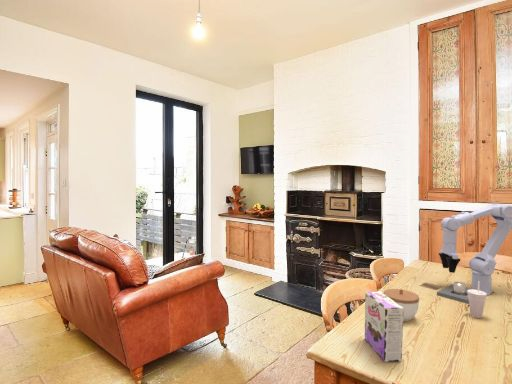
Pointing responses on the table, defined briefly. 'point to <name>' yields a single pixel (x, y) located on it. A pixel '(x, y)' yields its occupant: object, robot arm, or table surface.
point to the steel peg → (459, 288)
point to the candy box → (384, 326)
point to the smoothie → (476, 301)
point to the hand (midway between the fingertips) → (448, 270)
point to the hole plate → (449, 294)
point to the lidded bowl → (404, 301)
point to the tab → (431, 286)
